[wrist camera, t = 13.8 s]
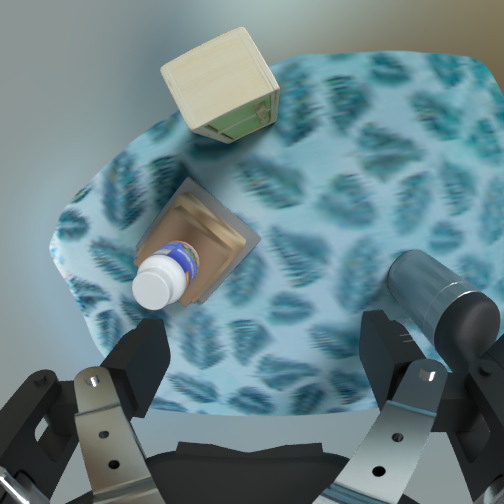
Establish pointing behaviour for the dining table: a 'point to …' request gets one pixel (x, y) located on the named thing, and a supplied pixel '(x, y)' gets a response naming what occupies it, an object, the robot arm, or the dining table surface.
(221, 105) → the tall beige block
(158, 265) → the pill bottle
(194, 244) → the brown block
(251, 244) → the base plate
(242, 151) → the dining table surface
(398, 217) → the dining table surface
